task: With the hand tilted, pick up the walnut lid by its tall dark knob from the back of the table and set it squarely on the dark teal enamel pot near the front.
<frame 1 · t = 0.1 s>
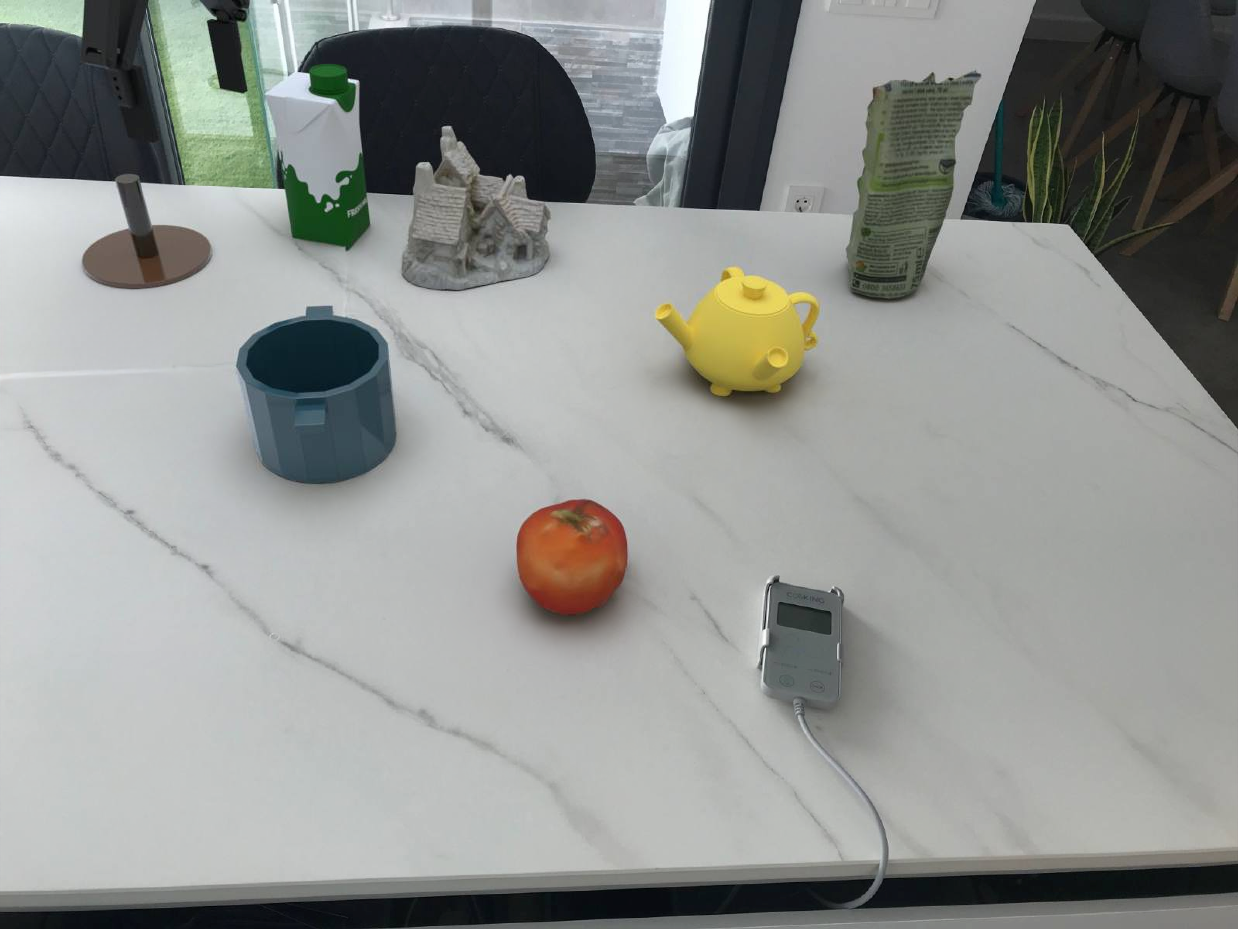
hand: (191, 113, 93), 21 cm above the table, tool pointing down, fingers open, 13 cm apart
pouch: (877, 279, 121), on the table
tomato: (572, 588, 79), on the table
lid: (148, 257, 112), point 1 cm above the table
milk carton: (332, 234, 120), on the table
teapot: (732, 379, 103), on the table
pot: (327, 438, 91), on the table
ceramic cottage: (475, 262, 118), on the table
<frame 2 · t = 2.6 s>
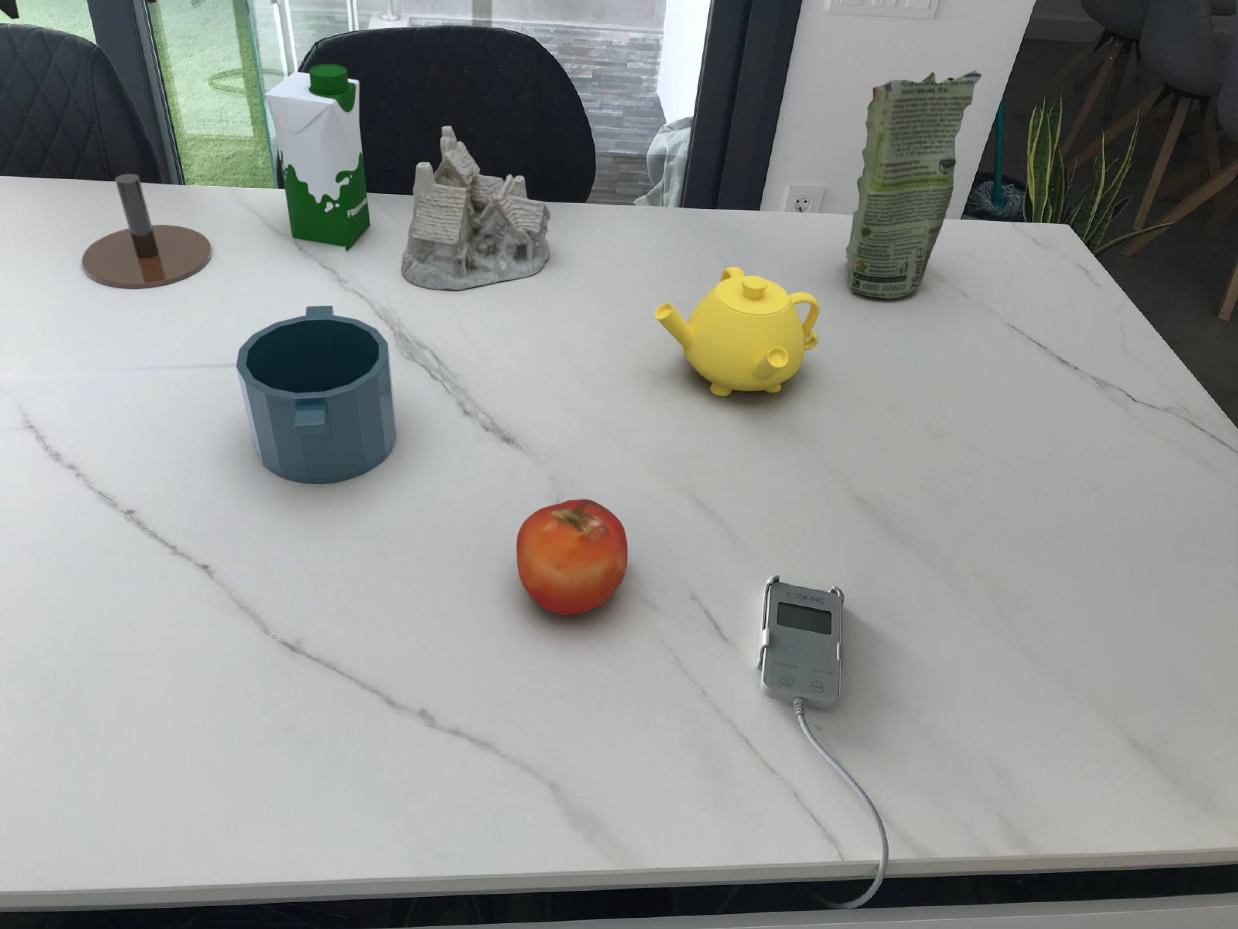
hand: (79, 5, 100), 26 cm above the table, tool tilted 40°, fingers open, 13 cm apart
nothing on the table moved.
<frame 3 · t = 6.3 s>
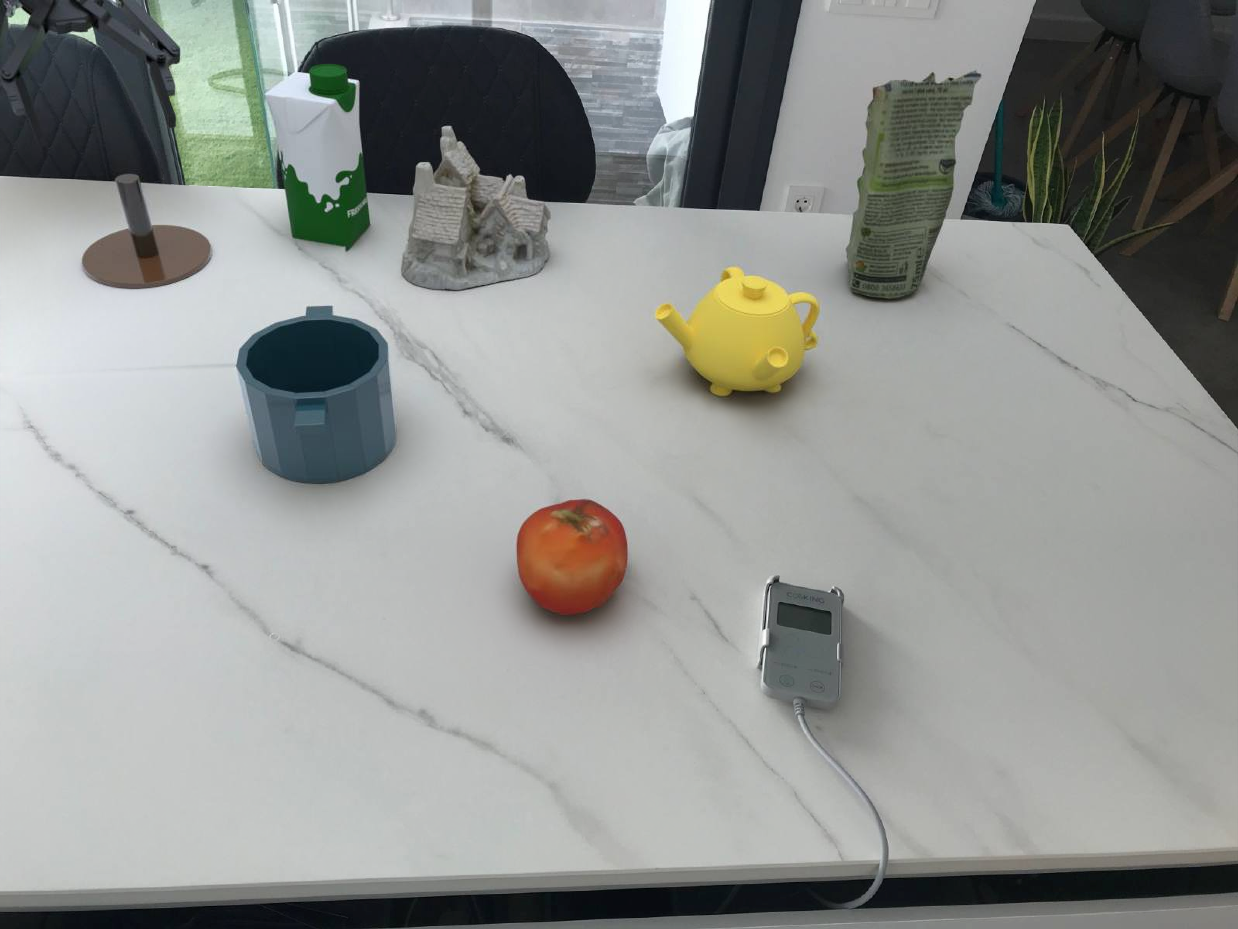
hand: (108, 131, 109), 13 cm above the table, tool tilted 45°, fingers open, 13 cm apart
nothing on the table moved.
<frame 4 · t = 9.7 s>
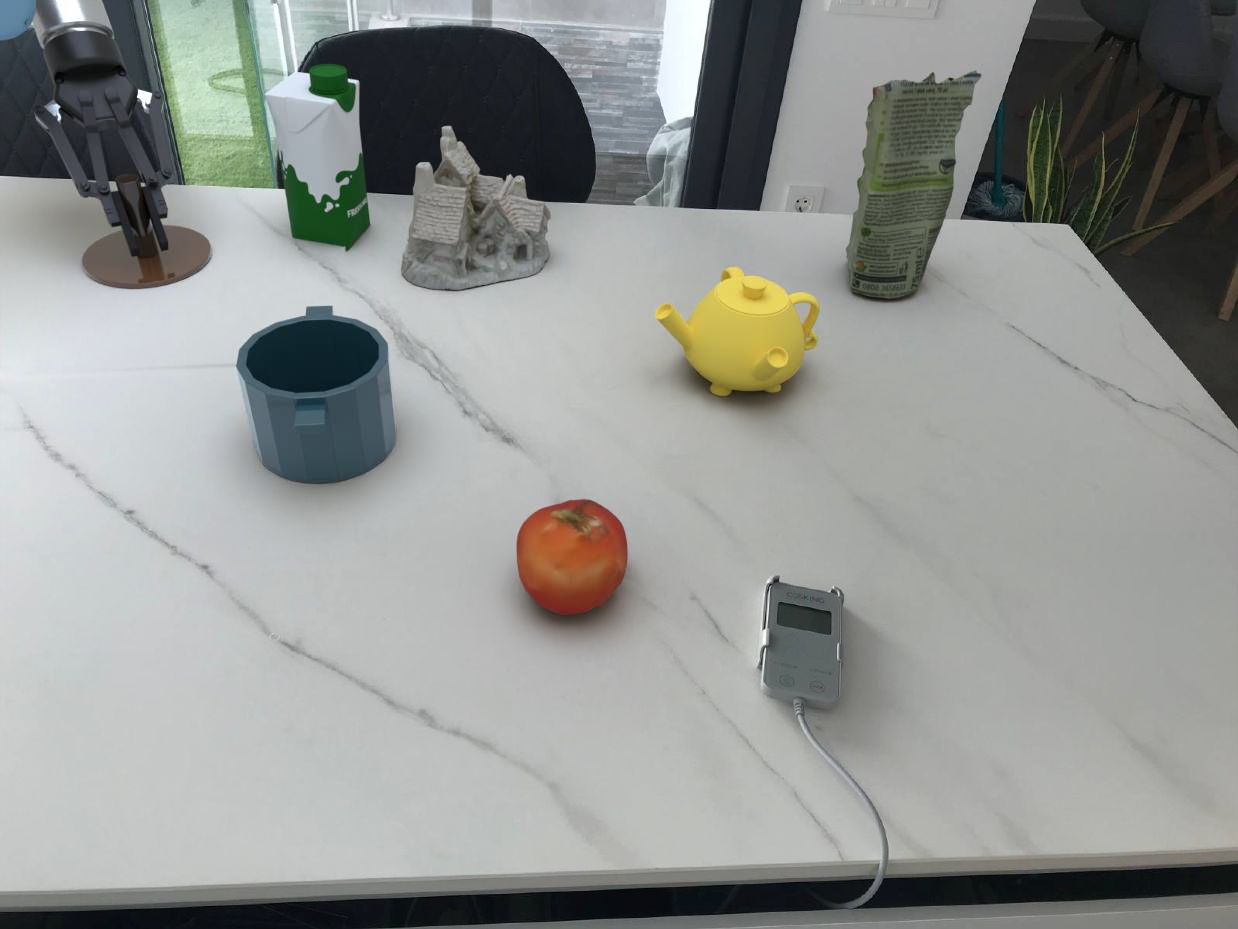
hand: (149, 249, 108), 4 cm above the table, tool tilted 45°, fingers closed on lid, 2 cm apart
lid: (148, 257, 112), point 1 cm above the table, touching gripper
everything else where it was.
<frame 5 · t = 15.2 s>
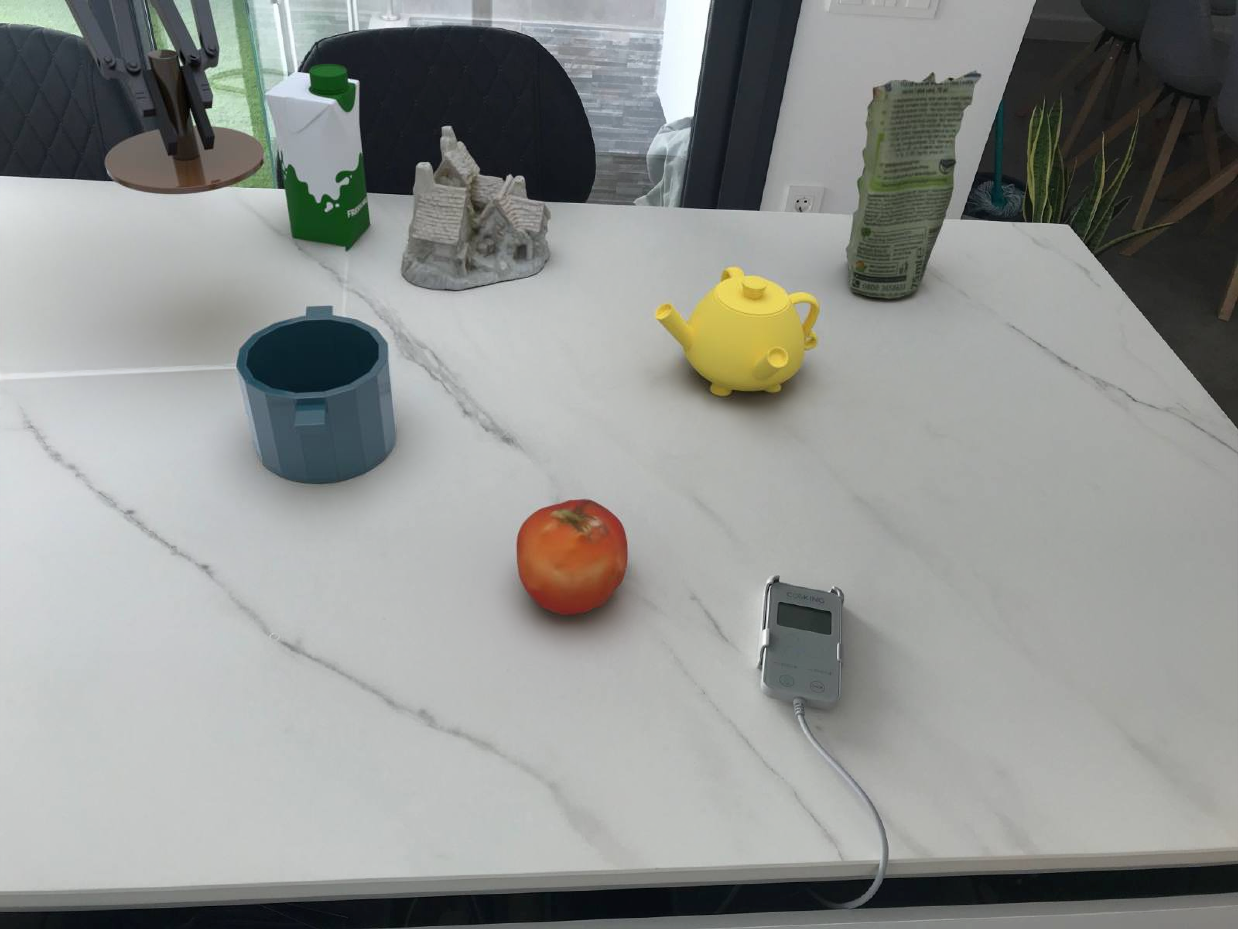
hand: (191, 145, 85), 22 cm above the table, tool tilted 45°, fingers closed on lid, 2 cm apart
lid: (187, 161, 90), point 19 cm above the table, touching gripper
everything else where it was.
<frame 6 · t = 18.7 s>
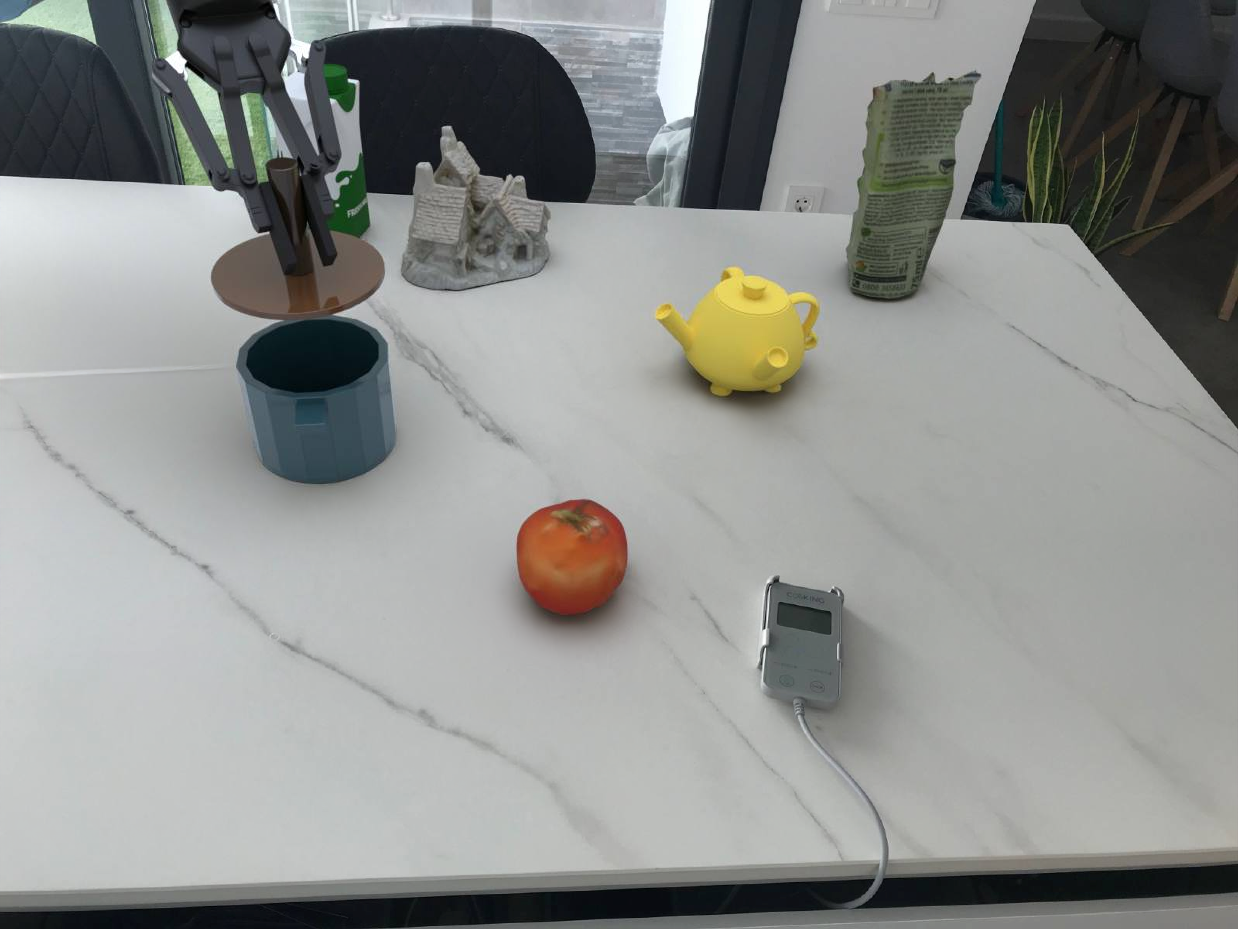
hand: (310, 264, 76), 20 cm above the table, tool tilted 45°, fingers closed on lid, 2 cm apart
lid: (300, 275, 80), point 17 cm above the table, touching gripper
everything else where it was.
when the fingers open (13 cm above the table, at t = 21.0 s): lid stays where it is, resting on pot.
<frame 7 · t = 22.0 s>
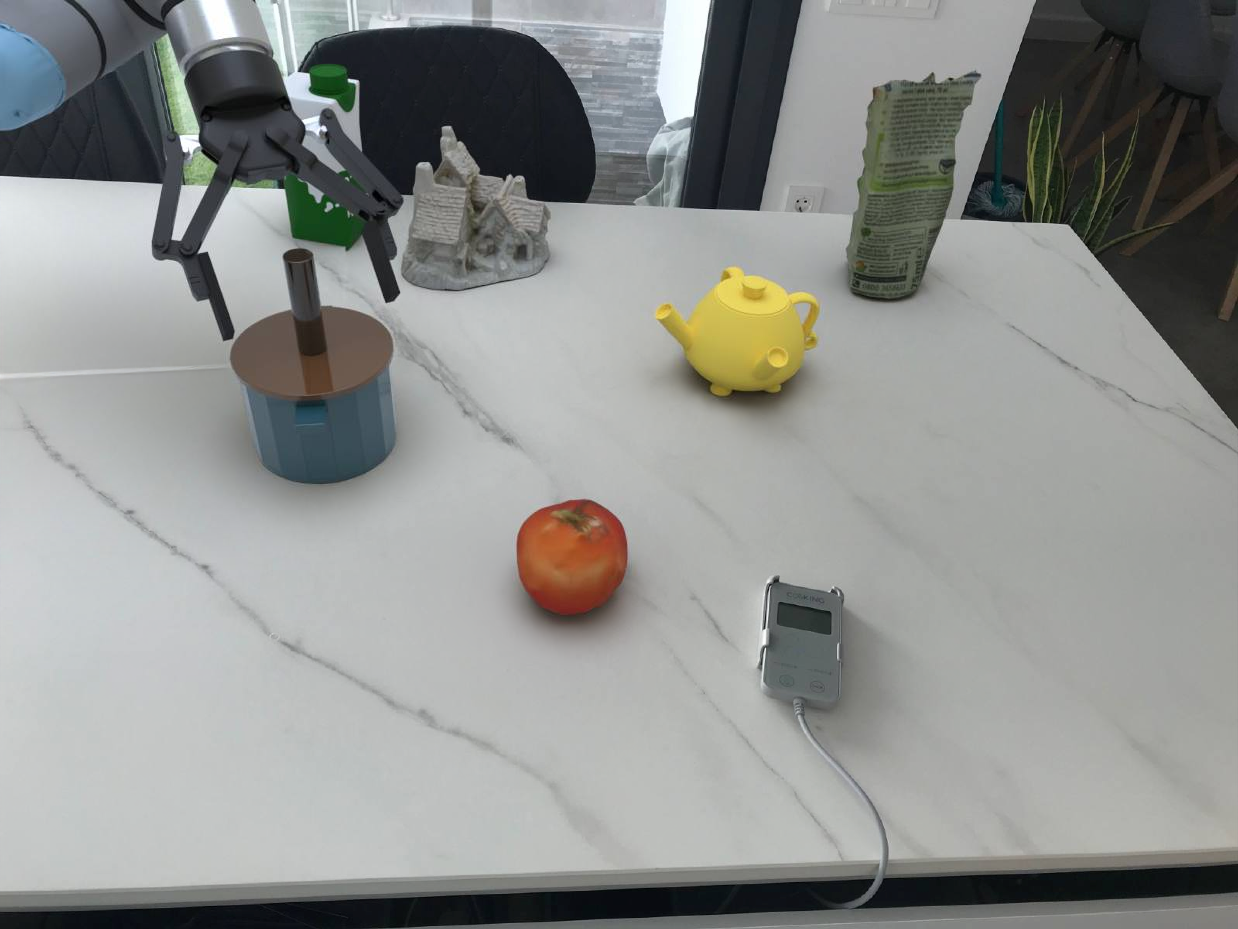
hand: (314, 317, 80), 15 cm above the table, tool tilted 45°, fingers open, 13 cm apart
lid: (313, 353, 85), point 9 cm above the table, touching pot
everything else where it was.
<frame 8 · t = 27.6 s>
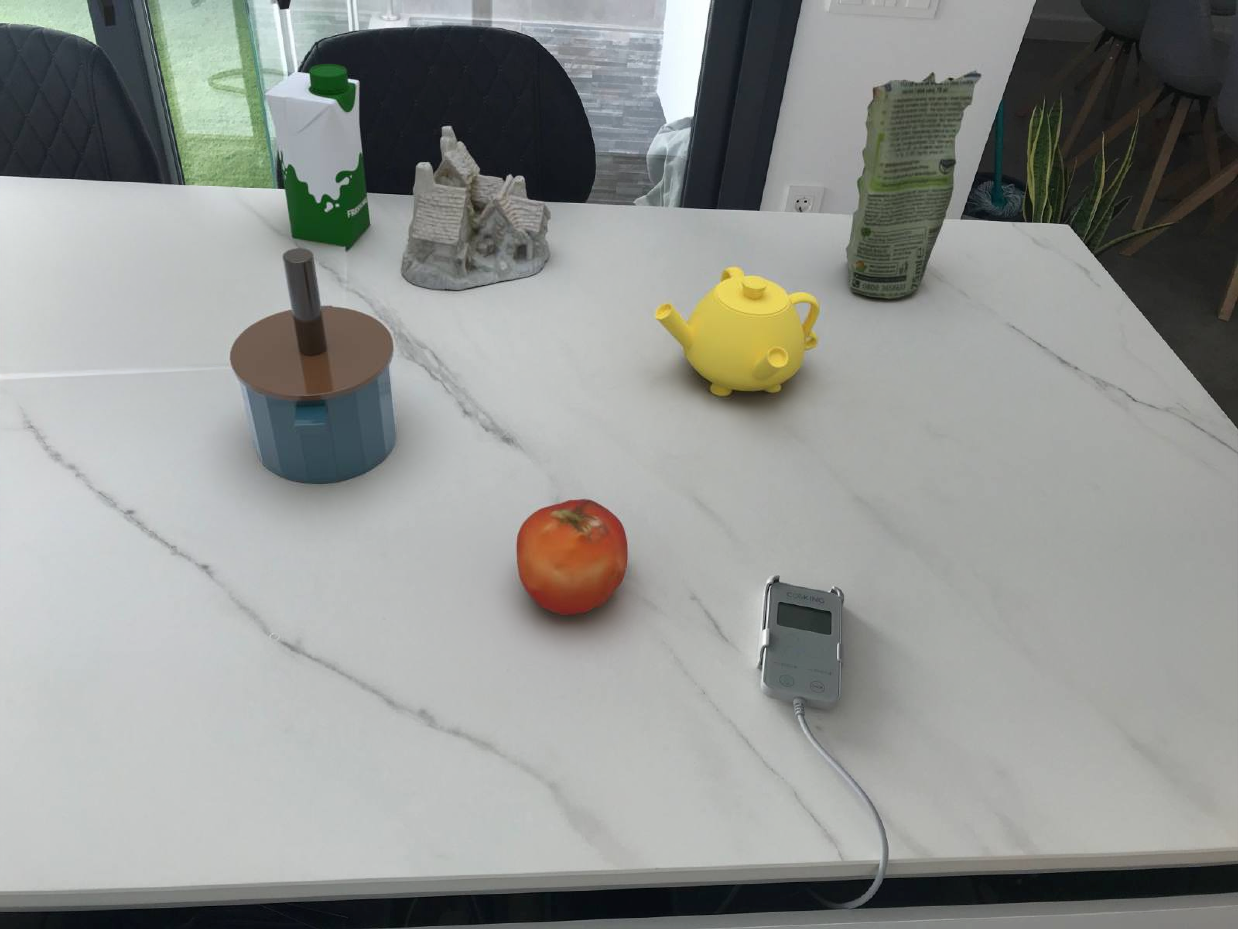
hand: (201, 8, 78), 34 cm above the table, tool tilted 45°, fingers open, 13 cm apart
nothing on the table moved.
at the end: lid 0.0 cm off-centre on the pot, point 9.5 cm above the pot's base; lid tilted 0° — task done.
